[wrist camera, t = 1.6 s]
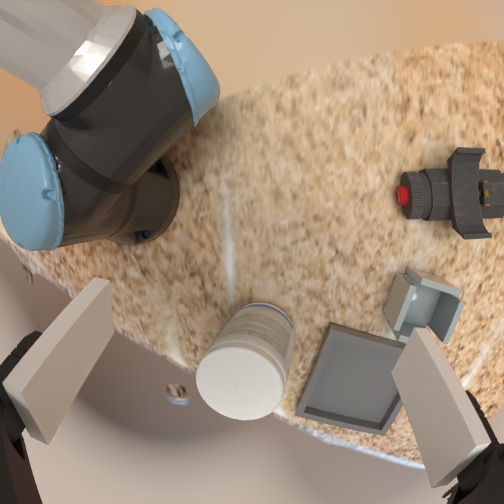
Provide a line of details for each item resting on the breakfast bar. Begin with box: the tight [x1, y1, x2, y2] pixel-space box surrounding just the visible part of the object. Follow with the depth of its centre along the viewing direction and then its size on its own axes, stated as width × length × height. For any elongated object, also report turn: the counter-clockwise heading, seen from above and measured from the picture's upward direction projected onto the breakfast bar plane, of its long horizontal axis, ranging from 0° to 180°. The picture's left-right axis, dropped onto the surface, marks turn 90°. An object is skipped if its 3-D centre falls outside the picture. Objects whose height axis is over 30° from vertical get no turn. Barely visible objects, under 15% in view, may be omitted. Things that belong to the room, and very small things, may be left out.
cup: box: [383, 266, 465, 346], centre depth 36 cm, size 8×8×7 cm
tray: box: [295, 323, 406, 436], centre depth 42 cm, size 15×15×2 cm
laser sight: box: [397, 147, 504, 239], centre depth 31 cm, size 10×22×10 cm, turn 95°
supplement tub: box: [196, 302, 295, 420], centre depth 38 cm, size 10×10×15 cm
